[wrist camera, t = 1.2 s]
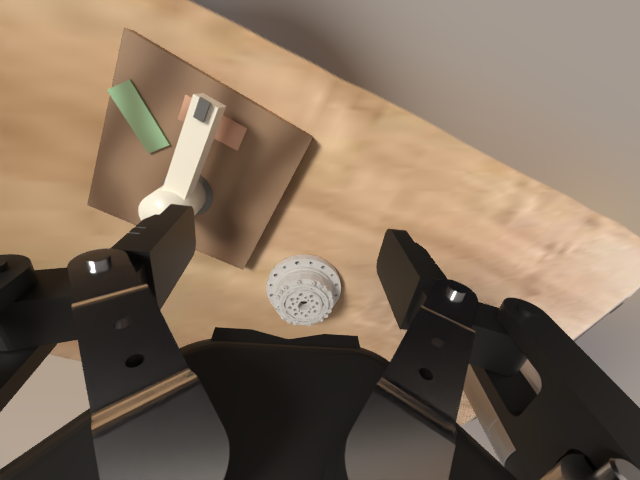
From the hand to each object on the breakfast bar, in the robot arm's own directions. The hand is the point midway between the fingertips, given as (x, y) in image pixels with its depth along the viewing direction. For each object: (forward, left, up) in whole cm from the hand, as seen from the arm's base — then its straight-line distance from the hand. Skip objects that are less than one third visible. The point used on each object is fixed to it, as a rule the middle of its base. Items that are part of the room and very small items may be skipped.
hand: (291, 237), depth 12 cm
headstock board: (+8, +8, -21) cm, 24 cm away
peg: (+8, +6, -19) cm, 22 cm away
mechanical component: (-9, +16, -21) cm, 28 cm away
